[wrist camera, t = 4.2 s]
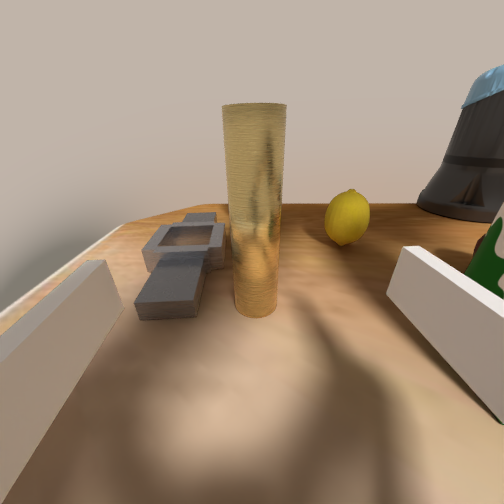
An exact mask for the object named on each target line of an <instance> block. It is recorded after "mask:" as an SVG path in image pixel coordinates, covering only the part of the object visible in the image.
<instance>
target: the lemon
mask: <svg viewBox="0 0 504 504" xmlns="http://www.w3.org/2000/svg"><path fill="white" fill-rule="evenodd" d="M369 219H370V208H369V204H368V201H367V200H366V199H365V197H364V196H362V195H361V194H359V193H357V192H356V191H355V190H354V189H349V190H348V191H347V192H343V193H341V194H339V195H337V196H336V197H334V198H333V200H332V201H331V202H330V204H329V206H328V208H327V210H326V214H325V220H324V225H325V231H326V233H327V235H328V236H329V237H330V238H331V239H332V240H333V241H335V242H337V243H338V245H340V246H343V245H345V244H348V243H352V242H355V241H357V240H358V239H360V238H361V237H362V235H363V234H364V233H365V231H366V229H367V227H368V224H369Z"/></svg>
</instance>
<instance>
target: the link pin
mask: <svg viewBox="0 0 504 504" xmlns="http://www.w3.org/2000/svg"><path fill="white" fill-rule="evenodd" d="M286 106H287V105H285V104H278V103H242V104H230V105H224V106H222V117H223V132H224V146H225V161H226V175H227V189H228V205H229V219H230V234H231V248H232V263H233V277H234V292H235V306H236V309H237V310H238V311H239V312H240V313H241V314H242V315H244V316H247V317H250V318H262V317H265V316H268V315H270V314H271V313H272V312H273V311H274V310H275V308H276V305H277V285H278V265H279V246H280V226H281V206H282V185H283V166H284V146H285V126H286V125H285V124H286Z"/></svg>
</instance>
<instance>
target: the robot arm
mask: <svg viewBox="0 0 504 504" xmlns="http://www.w3.org/2000/svg"><path fill="white" fill-rule="evenodd" d="M461 109H463V110H462V112H461V115H460V117H459V120H458V123H457V125H456V128H455V131H454V133H453V136H452V138H451V141H450V143H449V146H448V149H447V151H446V154H445V156H444V159H443V162H442V164H441V167H440V168H439V169H438V171H437V172H436V173H435V175H434V176H433V177H432V179H431V180H430V182H429V183H428V185H427V186H426V188H425V189H424V190H422V192H421V193H420V195H419V198H418V200H417V205H418V206H419V207H421V208H422V209H424V210H427V211H429V212H432V213H435V214H439V215H443V216H447V217H451V218H456V219H462V220H469V221H477V222H489V223H493V221H494V219H495V217H496V215H497V213H498V212H499V210H500V208H501V206H502V204H503V202H504V65H501V66H499V67H496V68H493V69H491V70H489V71H487V72H485V73H483V74H482V75H481V76H480V77H478V78H477V79H476V80H475V82H474V83H473V85H472V87H471V89H470V91H469V94H468V96H467V98H466V101H465V103H464V104H463V105H462V107H461ZM386 295H387V296H388V297H389V298H390V299H391V300H392V301H393V303H394V304H395V305H396V306H397V307H398V308H399V309H400V310H401V311H402V313H403V314H404V315H405V316H406V317H407V318H408V319H409V320H410V321H411V322H412V324H413V325H414V326H415V327H416V328H417V329H418V330H419V331H420V332H421V334H422V335H423V336H424V337H425V338H426V339H427V340H428V341H429V342H430V343H431V345H432V346H433V347H434V348H435V349H436V350H437V351H438V352H439V353H440V355H441V356H442V357H443V358H444V359H445V360H446V361H447V362H448V363H449V365H450V366H451V367H452V368H453V369H454V370H455V371H456V372H457V373H458V374H459V376H460V377H461V378H462V379H463V380H464V381H465V382H466V383H467V384H468V386H469V387H470V388H471V389H472V390H473V391H474V392H475V393H476V394H477V395H478V397H479V398H480V399H481V400H482V401H483V402H484V403H485V404H486V405H487V407H488V408H489V409H490V410H491V411H492V412H493V413H494V414H495V415H496V417H497V418H498V419H499V420H500V421H501V422H502V423H503V424H504V300H503V299H501V298H500V297H498V296H497V295H495V294H493V293H492V292H490V291H489V290H487V289H486V288H484V287H483V286H481V285H479V284H478V283H476V282H475V281H473V280H472V279H470V278H468V277H467V276H465V275H464V274H462V273H461V272H459V271H458V270H456V269H454V268H453V267H451V266H450V265H448V264H447V263H445V262H443V261H442V260H440V259H439V258H437V257H436V256H434V255H433V254H431V253H429V252H428V251H426V250H425V249H423V248H422V247H420V246H405V247H402V250H401V253H400V256H399V259H398V261H397V264H396V267H395V270H394V273H393V275H392V278H391V281H390V284H389V287H388V289H387V292H386ZM123 310H124V306H123V303H122V301H121V298H120V296H119V293H118V290H117V288H116V285H115V283H114V280H113V278H112V275H111V273H110V270H109V268H108V265H107V263H106V260H87V261H86V262H84V263H83V264H82V265H81V266H80V267H79V268H77V269H76V270H75V271H74V272H73V273H72V274H71V275H69V276H68V277H67V278H66V279H65V280H64V281H63V282H61V283H60V284H59V285H58V286H57V287H56V288H55V289H53V290H52V291H51V292H50V293H49V294H48V295H47V296H45V297H44V298H43V299H42V300H41V301H40V302H39V303H37V304H36V305H35V306H34V307H33V308H32V309H31V310H29V311H28V312H27V313H26V314H25V315H24V316H23V317H21V318H20V319H19V320H18V321H17V322H16V323H15V324H13V325H12V326H11V327H10V328H9V329H8V330H7V331H5V332H4V333H3V334H2V335H1V336H0V504H2V502H3V501H4V499H5V497H6V496H7V494H8V493H9V491H10V489H11V488H12V486H13V485H14V483H15V481H16V480H17V478H18V477H19V475H20V473H21V472H22V470H23V469H24V467H25V465H26V464H27V462H28V461H29V459H30V458H31V456H32V454H33V453H34V451H35V450H36V448H37V446H38V445H39V443H40V442H41V440H42V438H43V437H44V435H45V434H46V432H47V430H48V429H49V427H50V426H51V424H52V423H53V421H54V419H55V418H56V416H57V415H58V413H59V411H60V410H61V408H62V407H63V405H64V403H65V402H66V400H67V399H68V397H69V395H70V394H71V392H72V391H73V389H74V388H75V386H76V384H77V383H78V381H79V380H80V378H81V376H82V375H83V373H84V372H85V370H86V368H87V367H88V365H89V364H90V362H91V360H92V359H93V357H94V356H95V354H96V353H97V351H98V349H99V348H100V346H101V345H102V343H103V341H104V340H105V338H106V337H107V335H108V333H109V332H110V330H111V329H112V327H113V325H114V324H115V322H116V321H117V319H118V318H119V316H120V314H121V313H122V311H123Z"/></svg>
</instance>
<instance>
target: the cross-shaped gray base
mask: <svg viewBox="0 0 504 504" xmlns="http://www.w3.org/2000/svg"><path fill="white" fill-rule="evenodd" d="M205 244H208V245H205ZM180 245H183V246H180ZM225 249H226V232H225V223H217V217H216V212H211V213H187V215H186V217H185V218H184V220H183V222H180V223H173V224H172V225H161V226H160V227H159V229H158V230H157V231H156V232H155V234H154V235H153V236H152V238H151V239H150V240H149V241H148V243H147V244H146V245H145V246H144V248H143V249H142V254H143V257H144V260H145V264H146V267H147V271H148V272H152V273H151V275H150V277H149V278H148V280H147V282H146V283H145V285H144V287H143V288H142V290H141V292H140V293H139V295H138V297H137V298H136V300H135V302H134V305H135V308H136V311H137V313H138V316H139V319H140V320H150V319H169V318H188V317H196V316H197V312H198V307H199V303H200V298H201V294H202V289H203V285H204V280H205V276H206V273H210V272H211V269H223V268H224V258H225Z"/></svg>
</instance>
